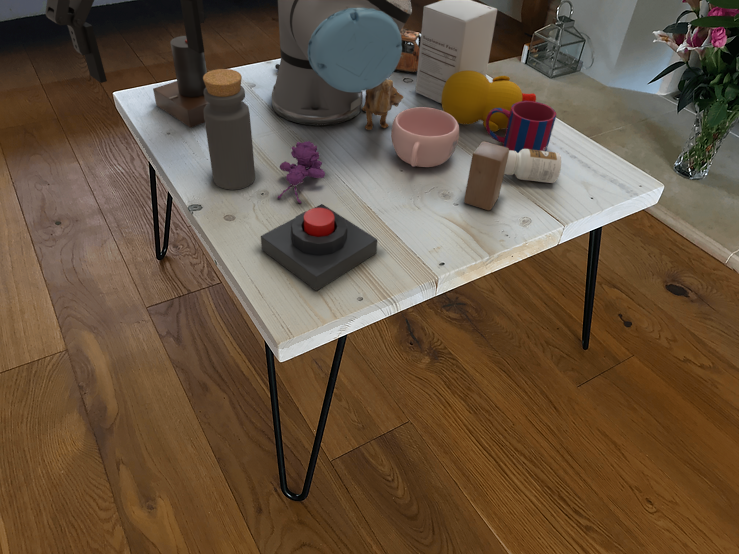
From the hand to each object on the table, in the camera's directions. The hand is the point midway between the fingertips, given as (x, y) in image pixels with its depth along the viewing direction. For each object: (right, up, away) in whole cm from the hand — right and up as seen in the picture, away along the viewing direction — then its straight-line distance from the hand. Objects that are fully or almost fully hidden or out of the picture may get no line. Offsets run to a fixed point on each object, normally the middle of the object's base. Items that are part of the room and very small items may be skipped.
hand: (149, 63), depth 76 cm
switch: (+22, -21, -4) cm, 31 cm away
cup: (+50, -7, +19) cm, 54 cm away
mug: (+35, -9, +15) cm, 40 cm away
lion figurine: (+29, -1, +24) cm, 38 cm away
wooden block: (+43, -16, +8) cm, 47 cm away
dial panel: (-1, +1, +24) cm, 24 cm away
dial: (-1, +3, +22) cm, 22 cm away
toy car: (+34, +13, +40) cm, 54 cm away
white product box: (+42, +6, +32) cm, 53 cm away
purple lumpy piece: (+18, -14, +9) cm, 25 cm away
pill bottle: (+55, -11, +11) cm, 57 cm away
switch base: (+22, -24, -2) cm, 32 cm away
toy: (+54, 0, +21) cm, 58 cm away
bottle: (+9, -13, +9) cm, 18 cm away
